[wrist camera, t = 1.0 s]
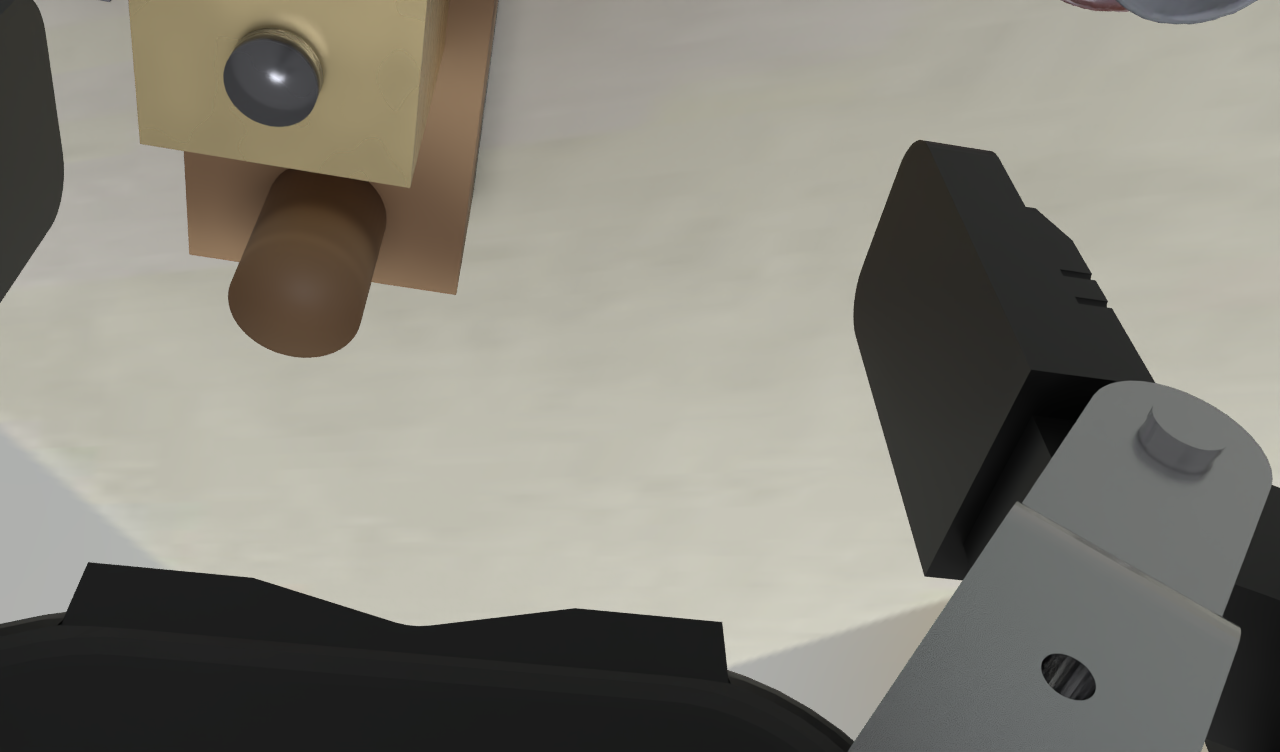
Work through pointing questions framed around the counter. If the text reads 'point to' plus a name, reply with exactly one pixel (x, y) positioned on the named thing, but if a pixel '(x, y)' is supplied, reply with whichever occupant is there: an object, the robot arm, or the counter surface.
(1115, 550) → the robot arm
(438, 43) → the brushed brass block
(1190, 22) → the supplement bottle
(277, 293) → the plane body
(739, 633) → the counter surface
